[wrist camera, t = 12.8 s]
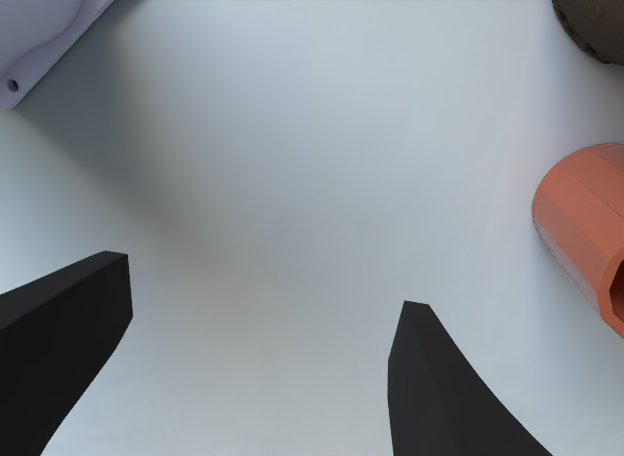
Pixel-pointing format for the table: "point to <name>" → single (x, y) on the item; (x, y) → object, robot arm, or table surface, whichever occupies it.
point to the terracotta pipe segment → (587, 225)
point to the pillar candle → (595, 27)
